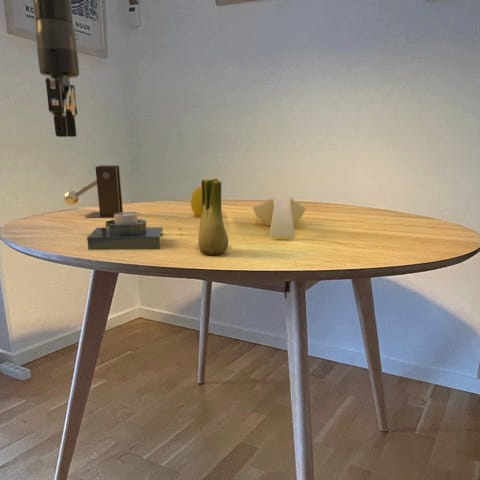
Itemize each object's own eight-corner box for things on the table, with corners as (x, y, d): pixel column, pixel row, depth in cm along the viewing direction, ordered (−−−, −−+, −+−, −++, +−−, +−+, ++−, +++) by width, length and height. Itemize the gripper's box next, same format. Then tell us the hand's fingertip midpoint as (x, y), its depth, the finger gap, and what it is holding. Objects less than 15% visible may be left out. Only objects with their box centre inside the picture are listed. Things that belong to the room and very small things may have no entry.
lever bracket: (86, 222, 104) (80, 166, 100) (93, 216, 111) (88, 164, 107) (132, 222, 105) (128, 167, 100) (136, 216, 112) (132, 165, 108)
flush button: (112, 225, 80) (112, 215, 80) (116, 222, 84) (115, 212, 83) (136, 225, 81) (135, 215, 80) (139, 221, 84) (138, 212, 84)
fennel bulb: (199, 249, 80) (197, 176, 76) (227, 249, 80) (228, 177, 76) (197, 257, 75) (196, 179, 70) (228, 257, 75) (228, 180, 71)
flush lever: (68, 208, 105) (59, 196, 104) (71, 206, 108) (62, 194, 107) (116, 178, 103) (108, 165, 102) (118, 177, 106) (110, 164, 105)
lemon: (199, 218, 112) (198, 183, 109) (219, 220, 109) (219, 184, 106) (186, 221, 107) (185, 185, 104) (207, 223, 105) (207, 186, 102)
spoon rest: (252, 219, 110) (253, 188, 108) (302, 220, 110) (304, 188, 108) (252, 239, 88) (253, 201, 86) (314, 240, 88) (317, 202, 86)
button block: (88, 250, 79) (85, 226, 77) (98, 239, 87) (96, 217, 86) (160, 249, 80) (158, 225, 79) (163, 238, 88) (162, 217, 87)
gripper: (47, 54, 99) (56, 136, 105) (26, 41, 86) (38, 136, 91) (83, 55, 100) (91, 137, 105) (68, 43, 86) (78, 137, 92)
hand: (66, 136), depth 98 cm, fingers open, 8 cm apart
